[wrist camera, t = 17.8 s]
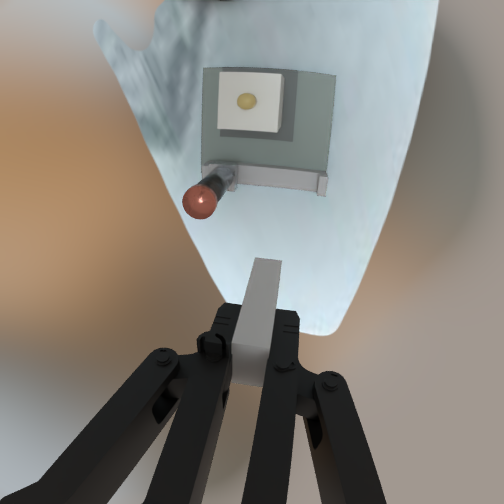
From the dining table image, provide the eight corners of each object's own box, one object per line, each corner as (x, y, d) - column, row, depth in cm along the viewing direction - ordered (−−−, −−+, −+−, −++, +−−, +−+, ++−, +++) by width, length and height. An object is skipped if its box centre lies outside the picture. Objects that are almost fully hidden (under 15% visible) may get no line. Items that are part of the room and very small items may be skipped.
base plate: (206, 68, 33) (195, 66, 29) (334, 76, 31) (339, 73, 27) (204, 174, 40) (194, 183, 36) (322, 186, 38) (325, 196, 35)
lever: (212, 160, 36) (181, 185, 27) (238, 162, 35) (215, 188, 26) (212, 185, 37) (183, 217, 28) (237, 187, 37) (215, 220, 28)
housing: (234, 76, 31) (215, 70, 24) (284, 78, 31) (280, 72, 23) (231, 122, 34) (213, 130, 27) (281, 126, 34) (276, 134, 26)
